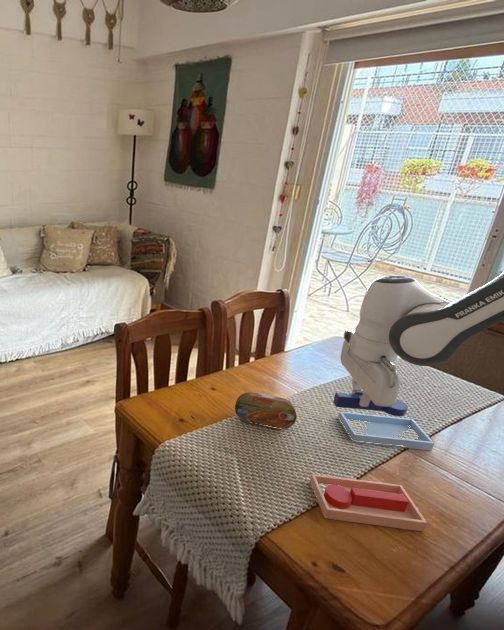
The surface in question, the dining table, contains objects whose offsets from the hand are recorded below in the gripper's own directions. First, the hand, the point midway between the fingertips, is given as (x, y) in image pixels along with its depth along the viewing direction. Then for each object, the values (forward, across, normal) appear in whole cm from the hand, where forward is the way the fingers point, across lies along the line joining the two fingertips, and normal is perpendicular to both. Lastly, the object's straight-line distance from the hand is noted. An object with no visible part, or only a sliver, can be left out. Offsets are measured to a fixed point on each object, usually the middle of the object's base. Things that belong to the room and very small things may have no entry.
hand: (359, 400), depth 101 cm
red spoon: (+14, -17, +3) cm, 23 cm away
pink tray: (+15, -17, +3) cm, 23 cm away
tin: (+15, +9, +17) cm, 25 cm away
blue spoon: (+2, 0, -3) cm, 3 cm away
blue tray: (+15, +10, -13) cm, 22 cm away
